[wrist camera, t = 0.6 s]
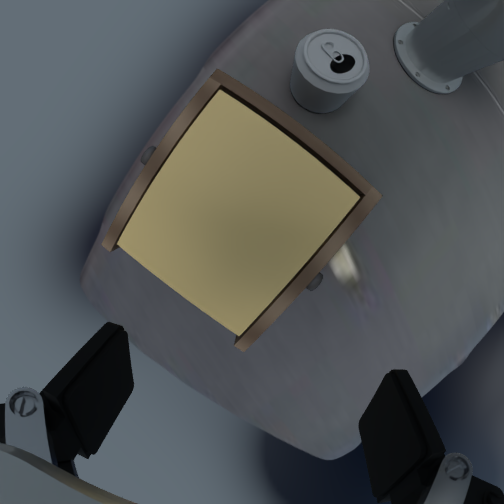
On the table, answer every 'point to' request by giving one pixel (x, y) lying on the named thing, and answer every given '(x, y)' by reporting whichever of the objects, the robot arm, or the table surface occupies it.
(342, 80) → the can
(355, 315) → the table surface
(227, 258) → the trapdoor flap
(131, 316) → the table surface
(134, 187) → the trapdoor frame
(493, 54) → the robot arm
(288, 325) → the table surface
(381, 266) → the table surface
